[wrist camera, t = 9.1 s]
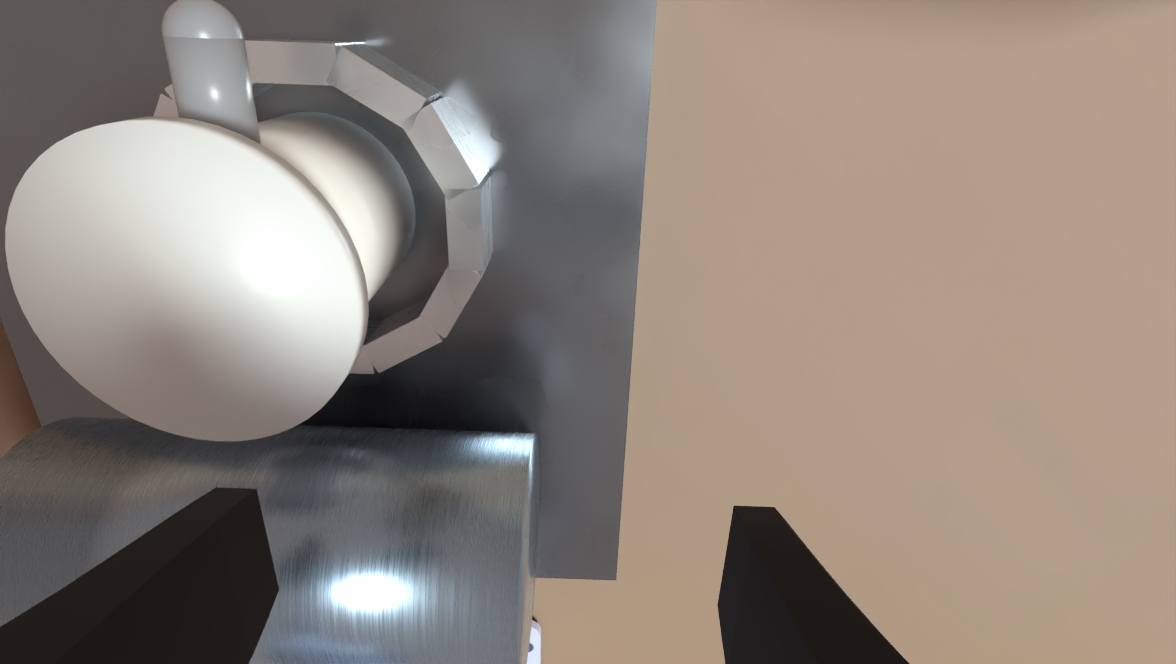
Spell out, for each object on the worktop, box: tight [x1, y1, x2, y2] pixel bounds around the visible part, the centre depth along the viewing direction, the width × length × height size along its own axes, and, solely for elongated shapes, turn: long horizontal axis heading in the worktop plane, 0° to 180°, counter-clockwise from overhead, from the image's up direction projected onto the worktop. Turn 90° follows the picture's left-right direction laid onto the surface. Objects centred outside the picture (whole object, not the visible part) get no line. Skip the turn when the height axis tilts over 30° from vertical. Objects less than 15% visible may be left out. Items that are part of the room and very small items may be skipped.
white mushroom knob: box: [5, 0, 415, 441], centre depth 13 cm, size 7×6×6 cm
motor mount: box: [0, 0, 657, 664], centre depth 15 cm, size 18×17×7 cm
